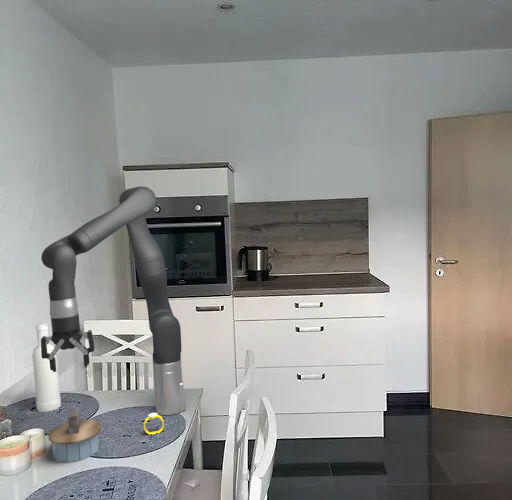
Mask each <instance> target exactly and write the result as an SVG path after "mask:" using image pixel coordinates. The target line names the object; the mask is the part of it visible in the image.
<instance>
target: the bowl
mask: <svg viewBox="0 0 512 500" xmlns="http://www.w3.org/2000/svg"><path fill="white" fill-rule="evenodd" d="M99 442H100V441H99V433H98V434H97V435H95V436H94V437H92V438H90V439H88V440H85V441H82V442H79V443H74V444H66V445H61V444H54V443H52V442H51V447H52V458H53V460H55V461H56V462H58V463H67V464H68V463H73V462H79V461H83V460H85V459H88V458H90V457H92V456H93V455H95V454H94V453H97V452H98V451H99V447H100V445H99V444H100V443H99Z"/></svg>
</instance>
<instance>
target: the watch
mask: <svg viewBox="0 0 512 500" xmlns="http://www.w3.org/2000/svg"><path fill="white" fill-rule="evenodd" d="M157 418H159V419H160V420H161V422H162V424H161V428H159V429H158V430H156V431H149V430H148V429H147V428H146V423H148V421H149V420H152V419H153V420H154V419H157ZM164 427H165V422H164V418H163V417H162V415H160V414H158V413H157V412H151V413H149V414H148V416H147V417H146V418H145V420H144V421H143V430H144V432H145V433H146V434H147V435H149V436H151V434H152V435H156V433H158V434H160V433H162V432H163V430H164Z"/></svg>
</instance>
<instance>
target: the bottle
mask: <svg viewBox="0 0 512 500" xmlns="http://www.w3.org/2000/svg"><path fill="white" fill-rule="evenodd" d="M35 330H36V339H37V345H36V346H35V347H34V349H33V352H32V358H31V359H32V366H33V367H32V368H33V377H34V378H33V379H34V389H35V398H36V399H35V401H36V402H35V404H36V410H37V412H39V413H49V411H50V412H53V410H54V411H56V410H58V409H60V408H61V406H62V399H61V390H60V379H59V367H58V357H57V356H58V355H57V353H56V355H55V356H54V358H55V360H56V372H53V370H51V369H50V362H49V359H46V358H45V359H43V358H42V355H41V338H42V337H43V336H46V337H50V336H49V326H48V323H45V322H44V323H38V324H37V325H36V328H35ZM54 347H55V346H54V345H53V344H52V343H50V342H49V344H47V353H50V354H51V352H52V351H53V349H54ZM59 407H60V408H59Z"/></svg>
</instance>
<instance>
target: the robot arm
mask: <svg viewBox="0 0 512 500" xmlns="http://www.w3.org/2000/svg"><path fill="white" fill-rule="evenodd" d="M118 202H119V204H118V205H117V206H115V207H114V208H112V209H109V210H108V211H106V212H104V213H103V214H101V215H98V216H96V217H95V218H93V219H91V220H89V221H88V222H86V223H84V224H83V225H82V226H80V227H79V228H77V229H75V230H74V231H73V232H72V233H70V234H68V235H66V236H64V237H62V238H59V239H58V240H56V241H54V242H52V243H51V244H49V245H48V246H47V247H46V248H44V250H43V251H42V253H41V262H42V264H43V266H45V267H46V268H48V269H50V270H52V279H50V280H49V282H48V297H49V316H50V322H51V332H52V334H51V336H49V337H46V336H43V337H42V338H41V355H42V358H43V359H45V358H46V359H49V362H50V369H51V370H53V372H56V360H55V358H54V356H55V355H56V354H57V353H58V352H59V350H62V351H65V350H68V349H69V350H72V349H75V348H76V349H78V350H79V351H80V352H81V353H82V354H83V356H82V357H83V366H84V367H83V368H88V366H89V365H90V353H93V352H94V351H95V341H94V335H93V331H92V330H91V329H89V330H88V331H83V332H82V330H81V324H80V315H79V314H80V313H79V305H78V300H77V294H76V286H75V281H76V280H75V279H76V272H77V256H78V255H81V254H85V253H87V252H89V251H91V250H92V249H94V248H95V247H96V246H97V245H99V244H101V243H102V242H103V241H105V240H106V239H107V238H109V237H111V236H112V235H113V234H114V233H116V232H117V231H119V230H120V229H122V227H124V226H126V230H127V232H128V237H129V240H130V245H131V251H132V253H133V257H134V264H135V268H136V271H137V276H138V279H139V283H140V287H141V289H142V292H143V295H144V297H145V302H146V308H147V315H148V326H149V327H148V328H149V331H150V332H151V334H152V347H153V350H152V352H153V353H152V364H153V378H154V393H155V395H154V397H155V409H156V413H157V414H158V415H160V416H172V415H173V416H174V415H176V414H179V413H181V412H186V410H185V409H186V406H185V405H186V404H185V392H184V391H185V390H184V381H183V372H182V369H183V367H182V359H181V358H182V357H181V355H182V333H181V332H182V331H181V329H182V328H181V323H180V321H179V319H178V318H177V317H176V316H175V315H174V313H173V310H172V308H171V304H170V302H169V297H168V285H167V284H168V283H167V281H168V279H167V278H168V277H167V268H166V263H165V260H164V254H163V252H162V249H161V247H160V245H158V243H157V241H156V240H155V238H154V237H153V235H152V234H151V232H150V230H149V226H148V223H147V218H146V215H148V214H150V213H151V212H152V211H154V209H155V208H156V205H157V197H156V194H155V192H154V191H153V190H152V189H151V188H149V187H147V186H135V187H131V188H127V189H125V190H123V191H122V192H121V193H120V196H119V201H118ZM83 337H84V338H85V340H87V341H88V347H86V346H85V345H84V343H83V342H82V341H81V339H82V338H83ZM50 341H51V342H52V343H53V344H54V345H55V346H54V349H53V351H52V352H51V354H50V353H47V344H49V343H50Z"/></svg>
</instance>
